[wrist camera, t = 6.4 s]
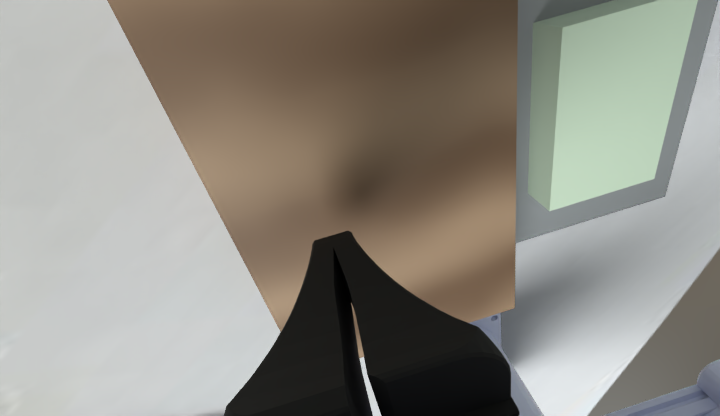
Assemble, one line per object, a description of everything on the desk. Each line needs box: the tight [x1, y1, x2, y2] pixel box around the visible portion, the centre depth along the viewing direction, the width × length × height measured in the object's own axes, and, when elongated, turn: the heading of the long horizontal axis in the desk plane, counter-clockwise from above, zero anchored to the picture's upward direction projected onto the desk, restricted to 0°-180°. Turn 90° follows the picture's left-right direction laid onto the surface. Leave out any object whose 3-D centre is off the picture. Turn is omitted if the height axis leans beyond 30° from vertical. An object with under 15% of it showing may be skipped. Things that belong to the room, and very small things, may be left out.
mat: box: [515, 0, 718, 243], centre depth 19 cm, size 16×12×1 cm
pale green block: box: [528, 0, 698, 211], centre depth 18 cm, size 9×6×2 cm, turn 12°
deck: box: [107, 0, 518, 358], centre depth 17 cm, size 18×12×4 cm, turn 12°
